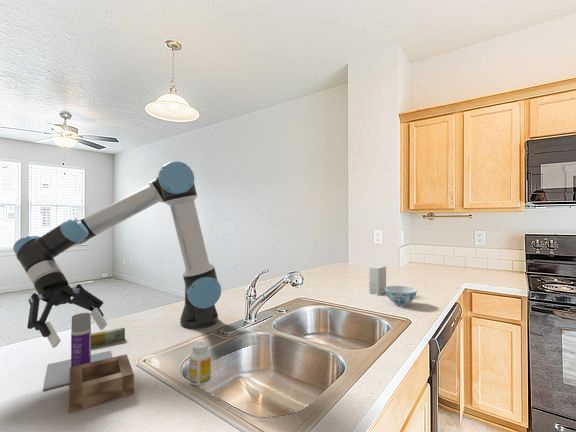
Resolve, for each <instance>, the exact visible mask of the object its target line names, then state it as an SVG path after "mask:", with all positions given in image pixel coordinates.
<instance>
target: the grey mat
mask: <svg viewBox="0 0 576 432" xmlns="http://www.w3.org/2000/svg"><path fill="white" fill-rule="evenodd" d="M112 357H113V354H112V350H107V351H103V352H98V353H97V352H96V353H94V354H93V353H92V354H91V362H95V361H99V360H104V359H108V358H112ZM46 366H47V367H46V372H45V376H44V377H45V378H44V382H43V388H42V391H43V392H44V391H48V390H51V389H56V388H60V387H64V386H69V377H70V367H71V358H70V359H66V360H61V361H57V362H52V363H48V364H47V365H46Z"/></svg>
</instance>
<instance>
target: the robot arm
mask: <svg viewBox="0 0 576 432" xmlns="http://www.w3.org/2000/svg"><path fill="white" fill-rule="evenodd" d="M197 194H198V193H197V189H196V186H195V174H194V171H193V170H192V168H191V167H190V166H189V165H187V164H186V163H185V162H183V161H182V162H181V161H177V160H176V161H175V160H174V161H173V160H172V161H169V162H167V163H165V164H164V165H163V166H161V168H160V169H159V171H158V175H157V177H155V178H154V179H152V180H149V183H148V185H146V186H144V187H142V188H140V189H138V190H136V191H134V192H133V193H131V194H128V195H127V196H125V197H123V198H121V199H119V200H117V201H115V202H113V203H111V204H109V205H107V206H105V207H103V208H101V209H99V210H97V211H95V212H93V213H91V214H90V215H87V216H85V217H83V218H82V219H78V218H74V217H73V218H70V219H68V220H66V221H64V222H61V224H59V225H58V226H56V227H54V228H53V229H51V230H50V231H48V232H46V233H45V234H43V235H41V236H38V235H36V234H35V235H33V234H32V235H27V236H25V237H21V238H18V239H17V240H16V241H15V242H14V244H13V247H12V248H13V252H14V254H15V257H16V259H17V260H18V261H19V263H20V265H21V266H22V268H23V269H24V271H25V273H26V275H27V276H28V278H29V280H30V281H31V283H32V285H33V287H34V288H35V291H36V292H37V293H35V292H34V293H32V294H31V296H30V297H29V298H28V303H29V305H30V306H29V312H28V313H29V314H28V321H27V329H28V330H31V329H33V328H34V330H35V331H39V332H40V334H41V336H42V337H43V338H47V340H48V342H49V344H50V345H51V347H52V349H54V348H57V346H59V344H60V342H62V341H61V339H60V336H59V335H58V333H57V332H56V329H55V328H54V326H53V324H52V323H51V322H50V321H47V319H48V317H49V314H50V313H51V310H52V308H53V306H55V307H58V306H60V305H65V304H66V305H67V304H69V305H70V304H71V305H75V306H78V307H81V308H83V309H85V310H87V311H90V315H91V318H92V319H93V320H94V322H95V323H96V325H97V326H98V328H99V330H100V331H103V330H104V329H105V328H106V326H107V325H108V323H107V321H106V320H105V317H104V316H105V315H104V313H103V311H102V310H101V307H102V306H103V304H104V301H103V300H101V299H99V298H98V297H97V296H96V295H93V294H92V293H91V292H90V291H88V290H86V289H85V288H84V287H83V286H82V284H77V285H76V286H73V287H71V286H70V285H69V282H68V280H67V278H66V276H65V274H64V273H63V272H62V269H61V267H59V264H58V263H57V262H56V260H55V259H54V258H55V257H57V256H60V254H62V253H64V252H65V251H67V250H68V249H70V248H72V247H73V246H78V245H82V244H84V243H86V242H88V240H90V239H92V238H94V237H96V236H98V235H99V234H102V233H103V232H105V231H107V230H109V229H111V228H113V227H114V226H116V225H118V224H120V223H123V222H124V221H127V220H128V219H129V218H132V217H134V216H135V215H137V214H139V213H141V212H143V211H145V210H147V209H148V208H150V207H152V206H154V205H156V204H158V203H164V204H166V205H167V206H169V207H170V212H171V214H172V219H173V222H174V223H173V224H174V227H175V232H176V236H177V239H178V244H179V248H180V252H181V256H182V260H183V263H184V264H183V265H184V267H185V269H184V272H183V274H182V278H183V282H184V306H183V309H182V312H181V315H180V319H179V320H180V322H179V323H180V326H182V327H183V328H187V329H200V328H206V327H210V326H214V325H215V324H217V323H218V322H219V314H218V311H217V309H216V305H215V304H216V303H217V302H218V301H219V299H220V298H221V295H222V285H221V284H220V282H219V281H218V276H217V272H216V268H215V265H213V264H212V263H210V261H209V256H208V253H207V249H206V244H205V240H204V236H203V233H202V227H201V224H200V220H199V217H198V216H199V215H198V212H197V208H196V204H195V203H196V202H195V200H196V198H197V197H198V195H197ZM40 301H43V302H45V303H46V304H45V306H44V307H43V308H44V309H43V311H42V313H41V315H40V317H39V319H38V316H39V307H40Z"/></svg>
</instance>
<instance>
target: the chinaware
mask: <svg viewBox="0 0 576 432" xmlns="http://www.w3.org/2000/svg"><path fill="white" fill-rule="evenodd" d="M385 292H386V293H385V294H386V297H387V298H388V299H389V300H390V302H393V303H394V304H395V305H394V304H393V305H394V306H396V305H400V306H399V307H407V306H406V305H408V306H409V304H410V303H412V302H413V301H414V299H415V298H416V296H417V292H418V291H417V289H416V288H413V287H410V286H406V285H405V286H404V285H389V286H386V287H385Z"/></svg>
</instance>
